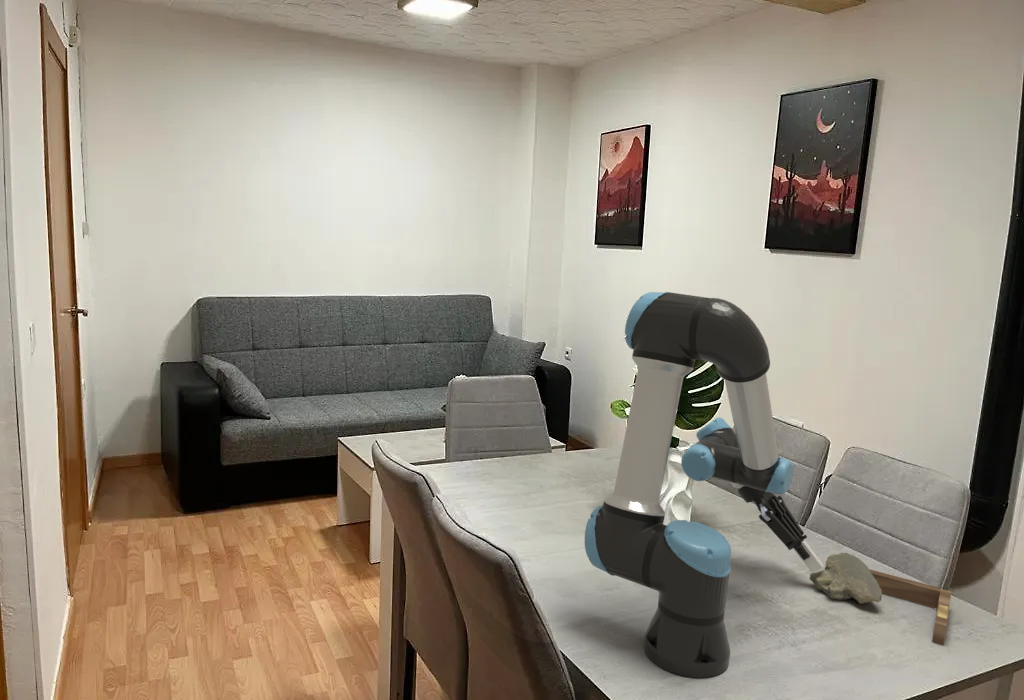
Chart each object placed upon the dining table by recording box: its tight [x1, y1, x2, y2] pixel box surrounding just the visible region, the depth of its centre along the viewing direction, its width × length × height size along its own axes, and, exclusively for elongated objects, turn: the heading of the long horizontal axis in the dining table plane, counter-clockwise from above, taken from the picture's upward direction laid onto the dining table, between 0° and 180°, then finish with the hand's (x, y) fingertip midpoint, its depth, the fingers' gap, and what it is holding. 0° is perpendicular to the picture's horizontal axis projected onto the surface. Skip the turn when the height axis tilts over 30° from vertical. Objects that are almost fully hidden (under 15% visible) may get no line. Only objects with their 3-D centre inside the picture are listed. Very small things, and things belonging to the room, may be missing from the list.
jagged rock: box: [809, 552, 883, 605], centre depth 166 cm, size 14×10×10 cm
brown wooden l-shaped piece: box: [868, 568, 952, 646], centre depth 161 cm, size 18×19×4 cm
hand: (818, 569), depth 169 cm, fingers closed
